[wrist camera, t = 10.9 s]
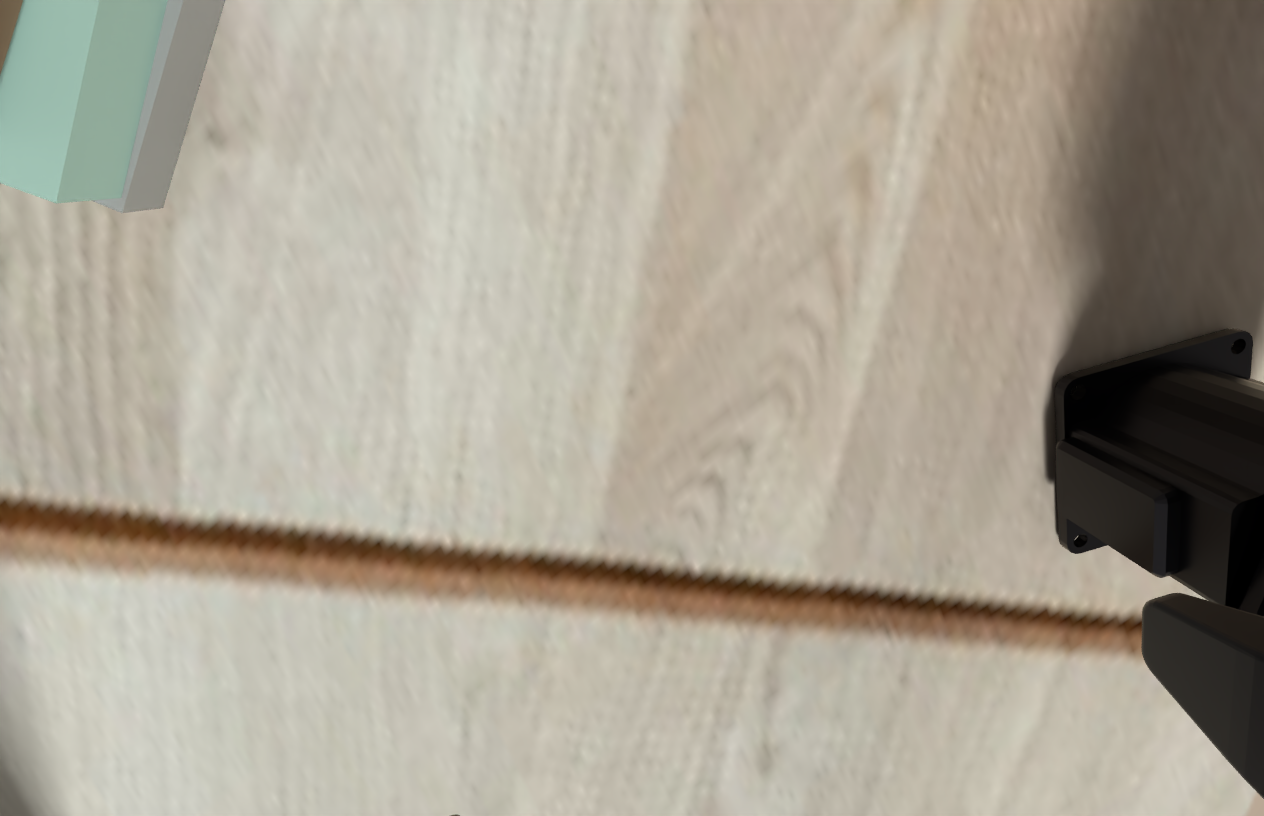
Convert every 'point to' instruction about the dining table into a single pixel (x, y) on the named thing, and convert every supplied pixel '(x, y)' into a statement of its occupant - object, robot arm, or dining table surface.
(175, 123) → the grey slab
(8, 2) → the walnut pillar block
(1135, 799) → the dining table surface
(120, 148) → the teal slab
